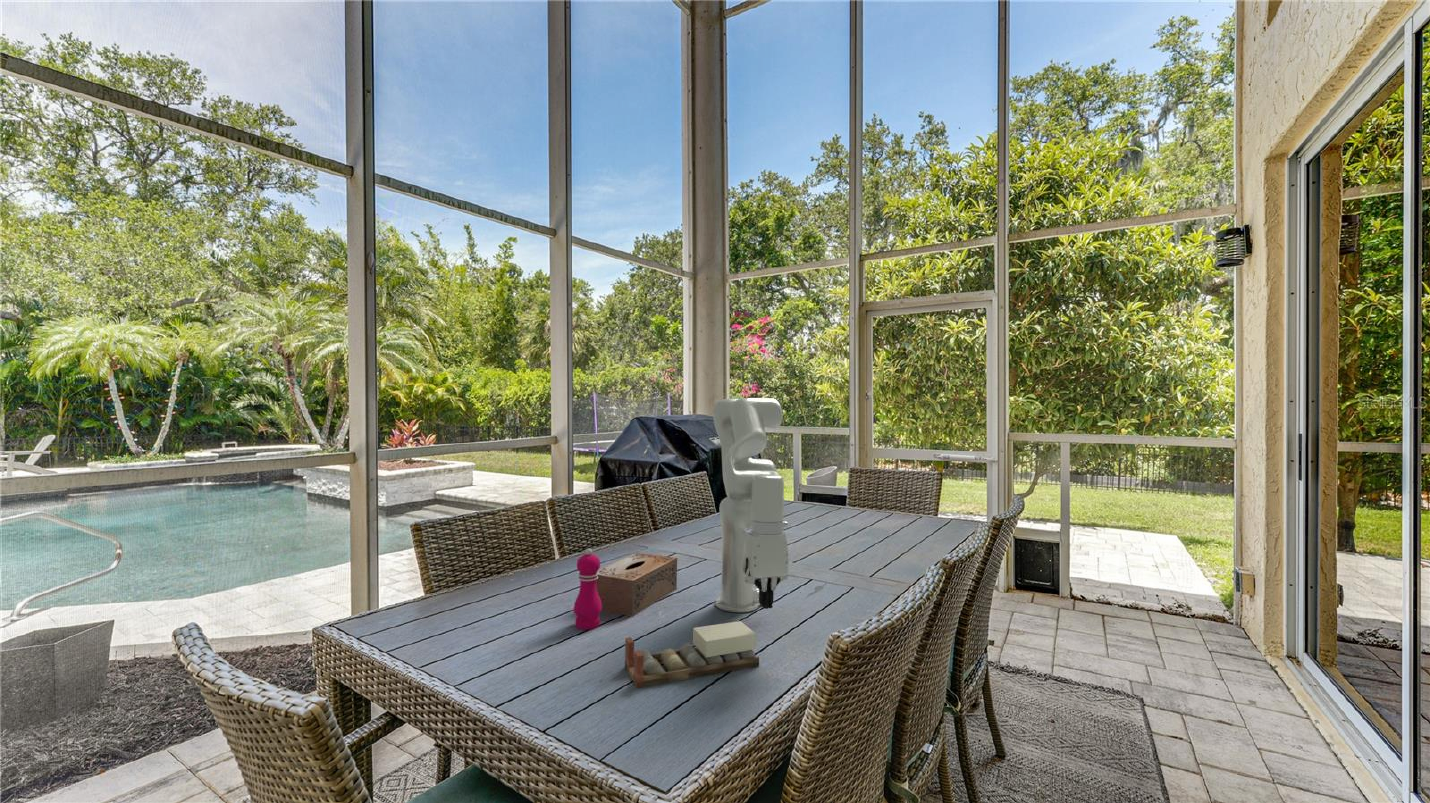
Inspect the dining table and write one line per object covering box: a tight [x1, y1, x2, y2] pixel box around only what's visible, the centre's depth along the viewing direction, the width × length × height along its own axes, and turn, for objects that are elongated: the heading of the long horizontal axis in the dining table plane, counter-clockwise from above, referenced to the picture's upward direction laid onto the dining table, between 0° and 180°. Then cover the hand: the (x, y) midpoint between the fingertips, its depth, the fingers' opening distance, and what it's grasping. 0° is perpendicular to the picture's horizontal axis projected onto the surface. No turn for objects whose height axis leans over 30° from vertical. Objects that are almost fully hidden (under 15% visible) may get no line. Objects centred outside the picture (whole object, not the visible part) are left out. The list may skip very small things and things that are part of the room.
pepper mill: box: [573, 548, 602, 630], centre depth 156 cm, size 7×7×20 cm
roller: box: [661, 648, 686, 672], centre depth 131 cm, size 7×4×4 cm, turn 22°
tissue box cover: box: [596, 552, 678, 617], centre depth 177 cm, size 26×14×10 cm, turn 156°
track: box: [624, 636, 760, 689], centre depth 133 cm, size 28×10×6 cm, turn 113°
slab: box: [692, 620, 757, 657], centre depth 136 cm, size 12×8×4 cm, turn 113°
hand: (766, 606), depth 139 cm, fingers closed
